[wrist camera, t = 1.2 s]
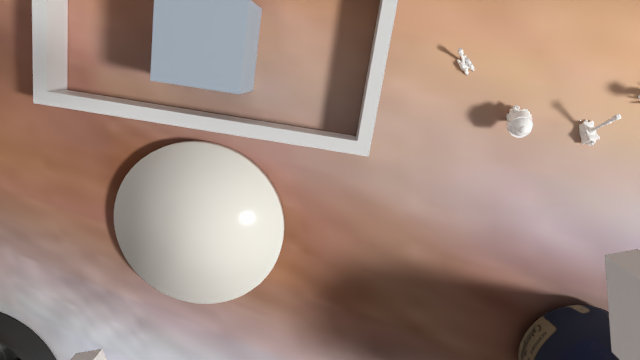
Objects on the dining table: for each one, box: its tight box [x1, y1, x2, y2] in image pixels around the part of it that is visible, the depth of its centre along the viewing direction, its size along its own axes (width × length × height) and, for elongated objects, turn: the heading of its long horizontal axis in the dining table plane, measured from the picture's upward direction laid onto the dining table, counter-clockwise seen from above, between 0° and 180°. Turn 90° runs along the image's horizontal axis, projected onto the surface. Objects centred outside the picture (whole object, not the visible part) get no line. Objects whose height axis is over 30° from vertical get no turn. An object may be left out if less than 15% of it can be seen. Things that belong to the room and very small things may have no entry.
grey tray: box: [32, 0, 398, 157], centre depth 32 cm, size 25×12×2 cm, turn 81°
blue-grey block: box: [150, 0, 262, 94], centre depth 30 cm, size 6×6×5 cm
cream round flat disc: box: [114, 140, 285, 304], centre depth 36 cm, size 14×14×1 cm
